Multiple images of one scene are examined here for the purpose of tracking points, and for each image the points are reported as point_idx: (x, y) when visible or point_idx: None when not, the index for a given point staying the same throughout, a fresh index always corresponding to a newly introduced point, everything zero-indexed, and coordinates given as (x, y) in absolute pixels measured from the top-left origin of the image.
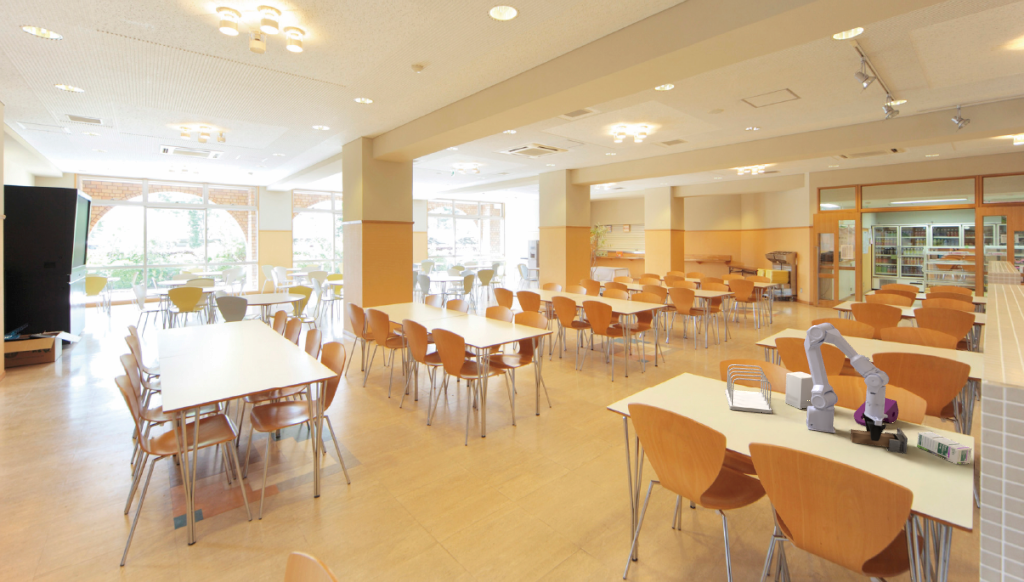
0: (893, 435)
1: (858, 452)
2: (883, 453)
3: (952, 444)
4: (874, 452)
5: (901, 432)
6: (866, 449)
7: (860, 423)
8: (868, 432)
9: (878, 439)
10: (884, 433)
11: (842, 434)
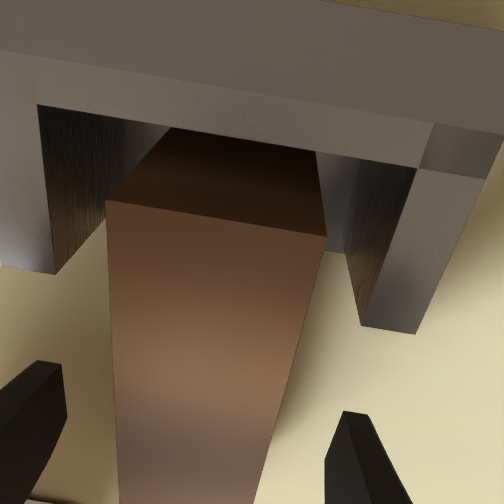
0: (56, 128)
1: (467, 495)
2: (485, 329)
3: None
4: (461, 394)
5: (181, 55)
6: (389, 427)
7: None
8: (169, 486)
9: (380, 445)
10: (129, 324)
11: (70, 469)
